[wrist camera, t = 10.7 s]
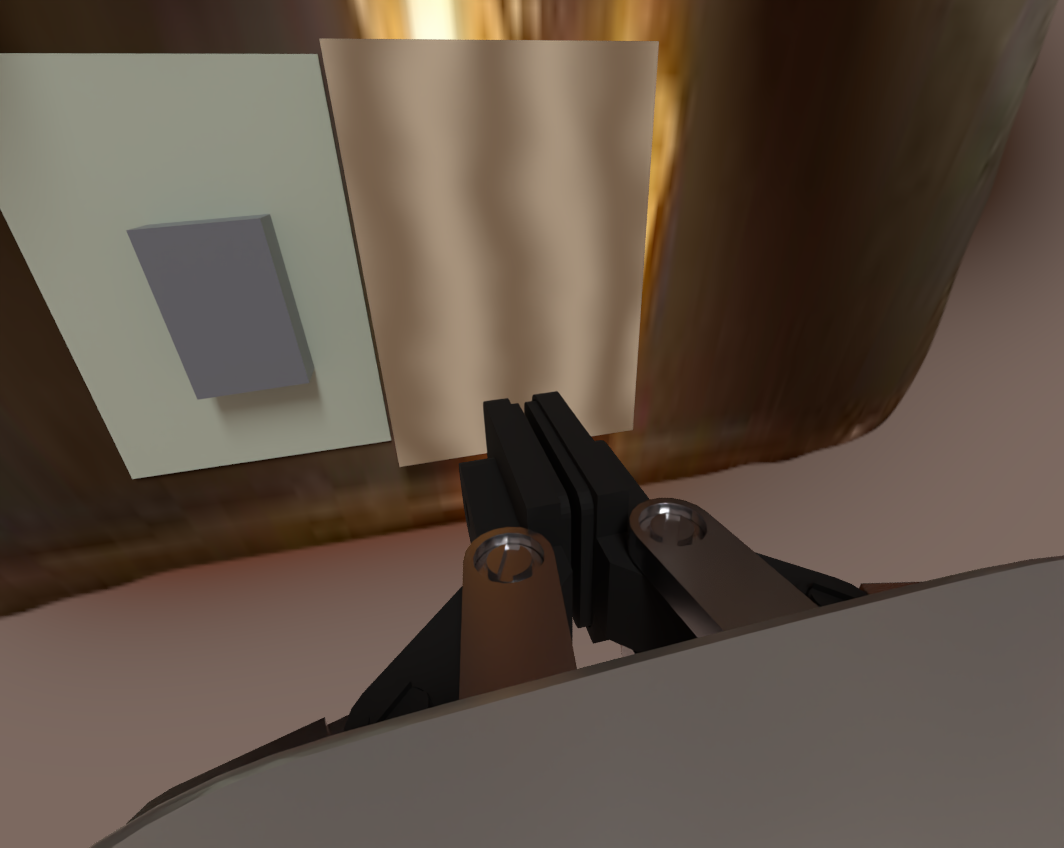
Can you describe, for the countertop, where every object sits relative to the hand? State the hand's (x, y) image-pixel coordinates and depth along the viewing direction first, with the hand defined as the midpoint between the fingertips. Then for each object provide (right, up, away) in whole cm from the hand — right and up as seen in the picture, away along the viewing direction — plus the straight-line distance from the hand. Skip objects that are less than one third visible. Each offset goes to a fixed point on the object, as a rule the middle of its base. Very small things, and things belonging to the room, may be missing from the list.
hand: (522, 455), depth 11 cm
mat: (-18, +8, +17) cm, 26 cm away
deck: (-2, +11, +21) cm, 23 cm away
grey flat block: (-16, +6, +15) cm, 23 cm away
